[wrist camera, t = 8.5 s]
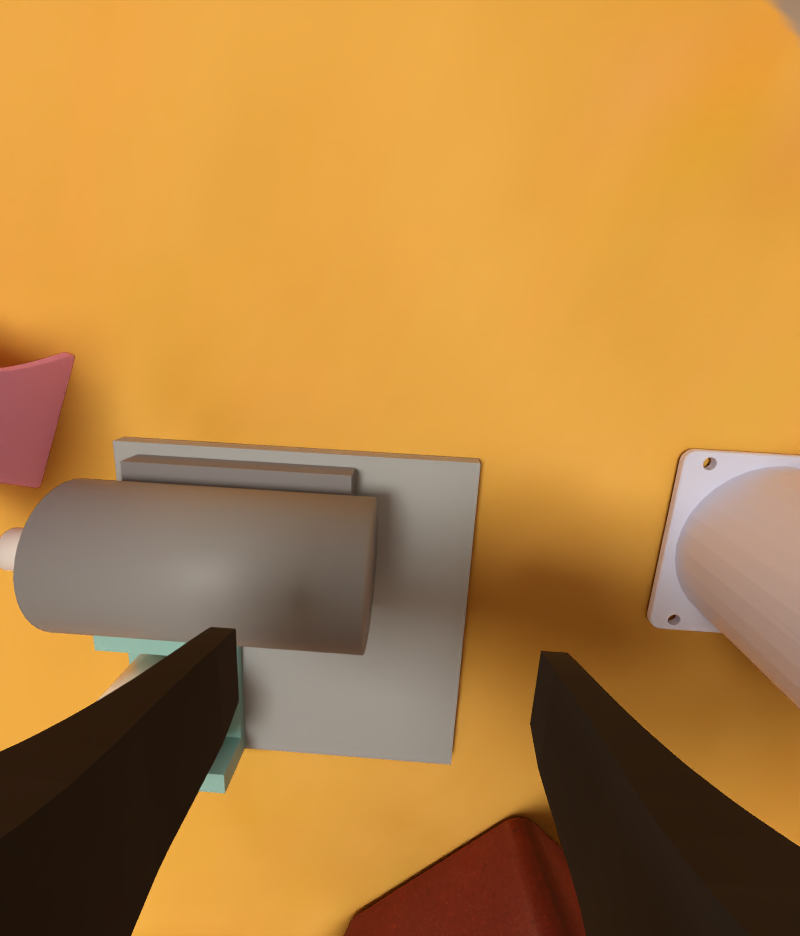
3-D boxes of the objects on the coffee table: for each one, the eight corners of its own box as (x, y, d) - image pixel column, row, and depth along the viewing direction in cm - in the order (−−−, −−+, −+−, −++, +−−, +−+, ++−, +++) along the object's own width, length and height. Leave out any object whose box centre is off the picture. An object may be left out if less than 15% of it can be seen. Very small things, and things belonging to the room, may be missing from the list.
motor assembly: (478, 458, 20) (503, 511, 14) (449, 751, 24) (459, 894, 18) (69, 433, 20) (-84, 474, 14) (107, 723, 24) (0, 853, 18)
